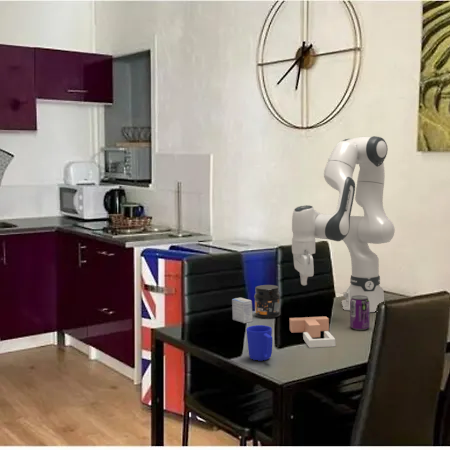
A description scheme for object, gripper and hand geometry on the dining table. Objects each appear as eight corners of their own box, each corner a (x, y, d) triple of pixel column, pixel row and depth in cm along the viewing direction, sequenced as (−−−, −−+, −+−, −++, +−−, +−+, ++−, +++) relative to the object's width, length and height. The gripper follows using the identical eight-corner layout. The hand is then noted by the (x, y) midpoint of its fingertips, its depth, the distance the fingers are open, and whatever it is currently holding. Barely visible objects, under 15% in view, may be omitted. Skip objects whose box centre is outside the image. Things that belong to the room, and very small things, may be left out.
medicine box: (252, 321, 259) (252, 300, 258) (243, 323, 256) (243, 302, 255) (241, 318, 265) (240, 297, 264) (232, 319, 263) (231, 298, 262)
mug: (259, 367, 202) (258, 336, 201) (242, 357, 213) (242, 327, 212) (282, 363, 205) (282, 332, 204) (265, 353, 216) (264, 324, 215)
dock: (303, 339, 232) (303, 332, 232) (328, 337, 233) (328, 331, 232) (309, 347, 221) (309, 340, 221) (335, 346, 222) (335, 339, 222)
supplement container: (249, 316, 268) (248, 287, 267) (268, 311, 275) (267, 283, 274) (266, 320, 260) (266, 290, 259) (286, 315, 267) (285, 287, 265)
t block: (289, 329, 245) (289, 318, 245) (326, 328, 246) (326, 316, 246) (295, 338, 233) (295, 326, 233) (334, 336, 234) (334, 324, 234)
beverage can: (369, 331, 240) (369, 299, 239) (350, 330, 241) (349, 298, 240) (369, 326, 247) (369, 295, 246) (350, 325, 248) (350, 294, 247)
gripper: (317, 251, 238) (317, 289, 239) (306, 245, 258) (306, 279, 259) (300, 252, 237) (300, 289, 239) (290, 245, 258) (290, 280, 259)
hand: (303, 284), depth 249 cm, fingers closed
